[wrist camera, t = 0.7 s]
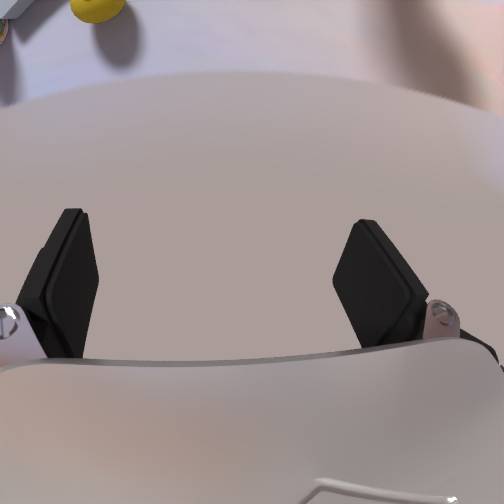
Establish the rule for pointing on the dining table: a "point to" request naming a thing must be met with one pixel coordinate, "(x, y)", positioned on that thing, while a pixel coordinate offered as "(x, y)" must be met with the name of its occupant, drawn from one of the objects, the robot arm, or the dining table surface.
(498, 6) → the dining table surface
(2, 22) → the pill bottle
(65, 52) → the dining table surface
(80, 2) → the lemon
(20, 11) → the grey square container
